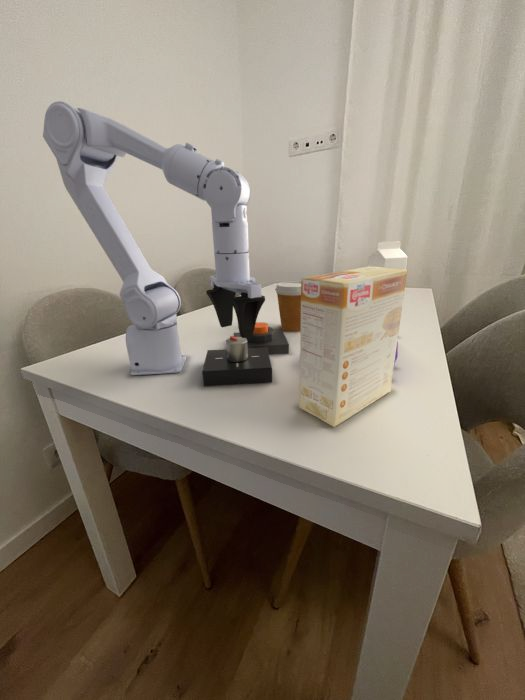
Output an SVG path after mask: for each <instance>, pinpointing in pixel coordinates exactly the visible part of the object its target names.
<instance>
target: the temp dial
mask: <svg viewBox="0 0 525 700" xmlns="http://www.w3.org/2000/svg"><path fill="white" fill-rule="evenodd" d="M224 342H225V343H224V344H225V349H226V357H227V360H228V361H231V362H241V361H244V360H246V359H247V358H248V346H247V339H246V338H242V337H234V335H230V336H229V337H228V338H227V339H225V341H224Z"/></svg>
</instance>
